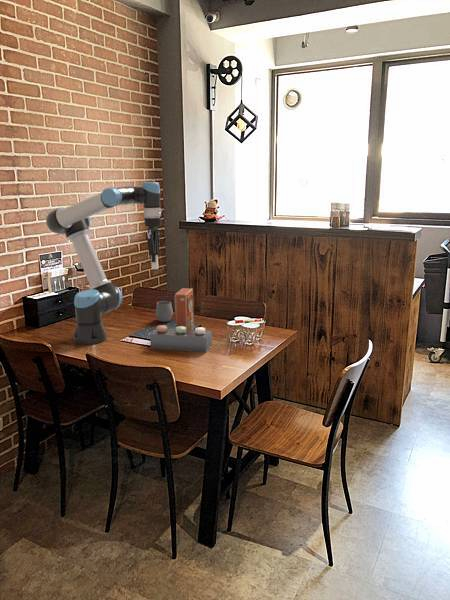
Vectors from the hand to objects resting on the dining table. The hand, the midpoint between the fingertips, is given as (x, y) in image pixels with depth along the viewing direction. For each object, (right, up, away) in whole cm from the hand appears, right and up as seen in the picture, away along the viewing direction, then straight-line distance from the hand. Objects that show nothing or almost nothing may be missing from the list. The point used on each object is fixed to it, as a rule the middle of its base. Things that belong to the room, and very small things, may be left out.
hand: (154, 268), depth 231 cm
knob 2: (+21, -35, -4) cm, 41 cm away
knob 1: (+4, -35, 0) cm, 35 cm away
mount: (+12, -36, -2) cm, 38 cm away
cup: (0, -26, +39) cm, 47 cm away
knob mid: (+12, -35, -2) cm, 37 cm away
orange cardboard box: (+13, -31, +18) cm, 38 cm away
